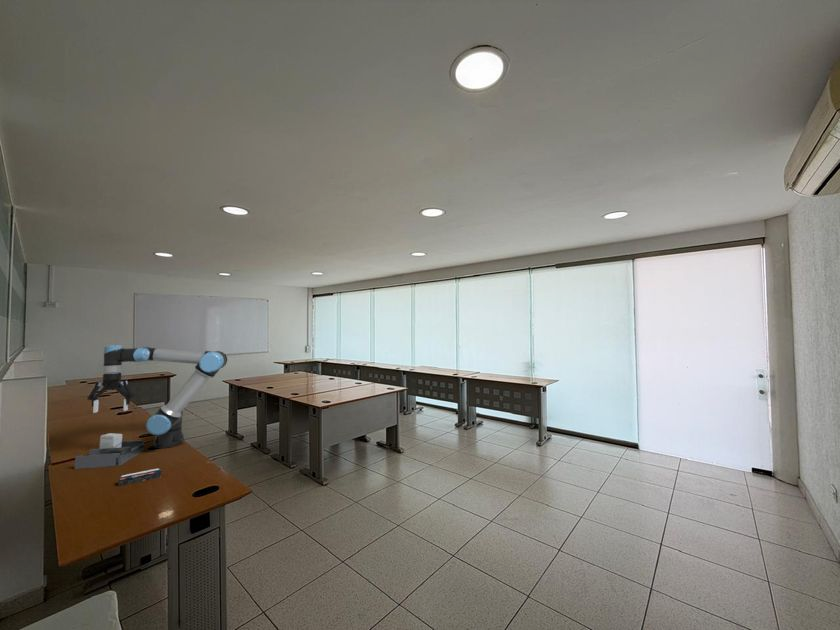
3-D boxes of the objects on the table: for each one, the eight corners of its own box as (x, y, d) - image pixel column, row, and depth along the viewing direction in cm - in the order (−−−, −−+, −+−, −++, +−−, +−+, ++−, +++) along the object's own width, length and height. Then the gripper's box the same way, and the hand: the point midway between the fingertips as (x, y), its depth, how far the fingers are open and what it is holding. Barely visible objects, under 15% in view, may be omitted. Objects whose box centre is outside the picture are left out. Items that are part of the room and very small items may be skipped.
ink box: (98, 457, 179) (99, 435, 180) (107, 454, 185) (109, 432, 185) (112, 458, 179) (113, 436, 179) (121, 455, 184) (123, 433, 184)
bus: (168, 480, 155) (169, 471, 155) (94, 496, 139) (95, 486, 139) (167, 470, 166) (168, 461, 166) (98, 484, 150) (99, 474, 150)
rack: (144, 450, 191) (144, 439, 191) (120, 465, 169) (121, 453, 170) (104, 453, 186) (104, 442, 186) (74, 469, 164) (75, 456, 165)
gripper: (142, 371, 191) (141, 408, 190) (89, 373, 184) (87, 411, 183) (135, 372, 184) (134, 411, 183) (79, 374, 177) (77, 414, 176)
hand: (110, 411), depth 183 cm, fingers open, 13 cm apart
